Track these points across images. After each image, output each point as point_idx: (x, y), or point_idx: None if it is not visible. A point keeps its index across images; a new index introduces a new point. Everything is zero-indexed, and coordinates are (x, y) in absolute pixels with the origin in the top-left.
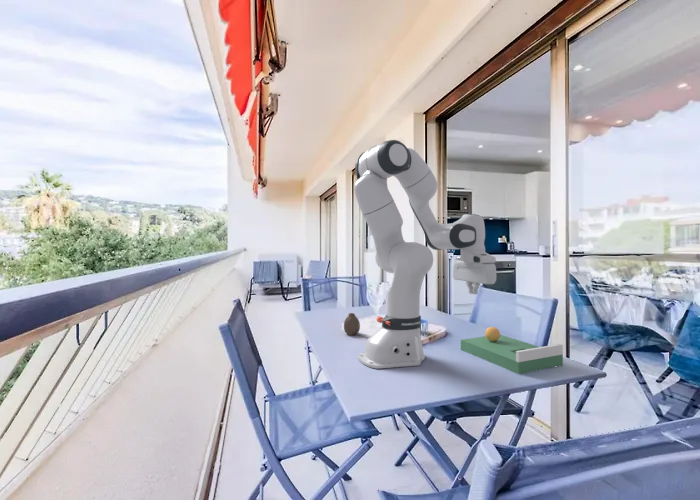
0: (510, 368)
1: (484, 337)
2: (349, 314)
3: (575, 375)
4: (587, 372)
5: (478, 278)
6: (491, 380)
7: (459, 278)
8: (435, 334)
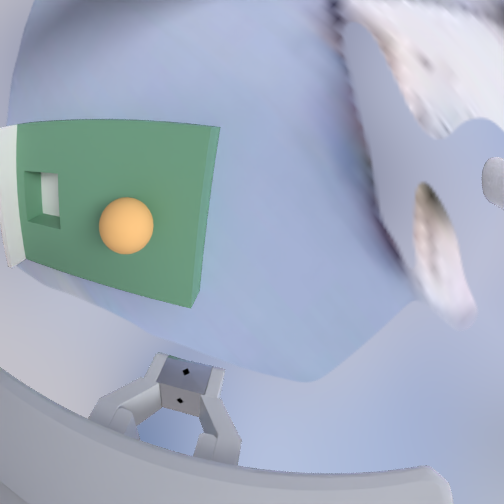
0: (42, 121)
1: (185, 233)
2: None
3: None
4: None
5: (1, 413)
6: (41, 47)
7: (343, 489)
8: (416, 211)
